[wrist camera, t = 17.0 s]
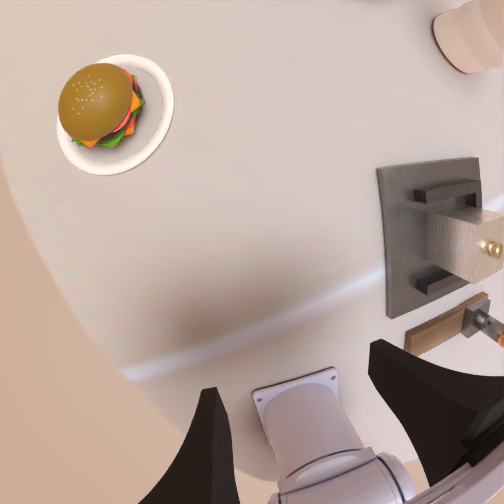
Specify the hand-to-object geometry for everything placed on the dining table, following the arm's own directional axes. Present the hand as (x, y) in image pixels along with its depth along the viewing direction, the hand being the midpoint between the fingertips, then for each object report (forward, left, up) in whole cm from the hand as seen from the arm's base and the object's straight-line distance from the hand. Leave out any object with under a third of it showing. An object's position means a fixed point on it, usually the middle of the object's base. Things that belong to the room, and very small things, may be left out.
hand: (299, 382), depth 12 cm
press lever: (-10, -23, -9) cm, 27 cm away
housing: (+1, -17, -9) cm, 20 cm away
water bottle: (+20, -25, -10) cm, 34 cm away
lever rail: (-10, -20, -10) cm, 24 cm away
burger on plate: (+15, +7, -11) cm, 20 cm away
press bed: (+1, -17, -10) cm, 20 cm away
